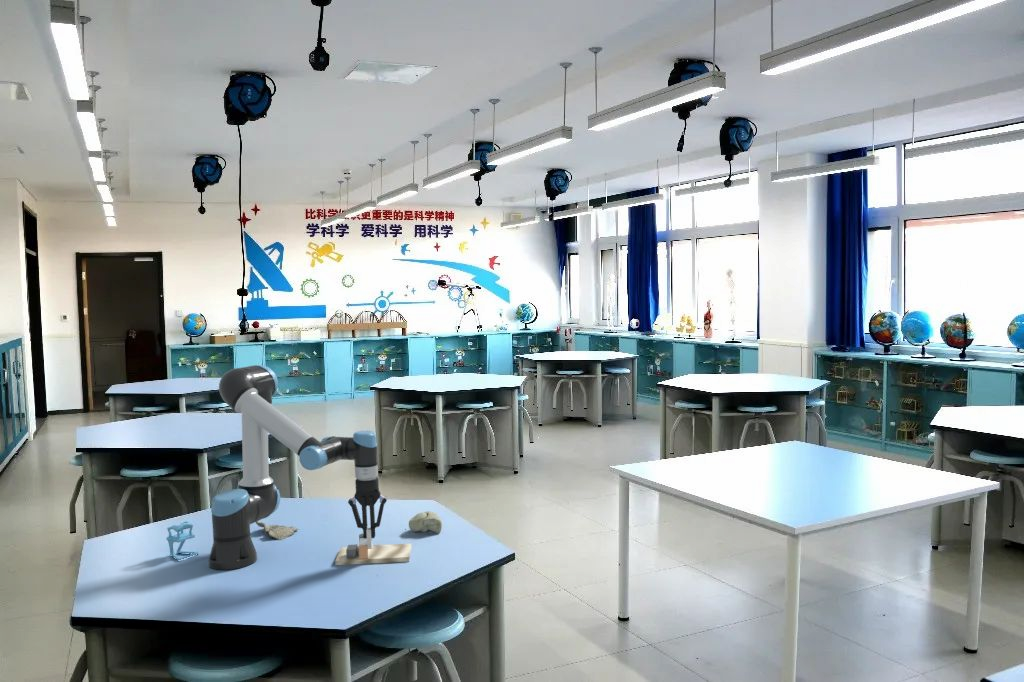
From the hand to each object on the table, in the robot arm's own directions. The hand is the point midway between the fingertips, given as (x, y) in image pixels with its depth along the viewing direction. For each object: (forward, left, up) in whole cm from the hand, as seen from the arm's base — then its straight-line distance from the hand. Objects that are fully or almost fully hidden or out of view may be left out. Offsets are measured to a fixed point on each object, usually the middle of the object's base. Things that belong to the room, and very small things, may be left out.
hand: (369, 547), depth 255 cm
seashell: (+18, +28, -4) cm, 33 cm away
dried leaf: (-39, +34, -5) cm, 52 cm away
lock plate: (+1, +3, -4) cm, 5 cm away
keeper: (-6, 0, -2) cm, 6 cm away
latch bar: (-2, +3, -2) cm, 4 cm away
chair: (-66, +13, -4) cm, 67 cm away
